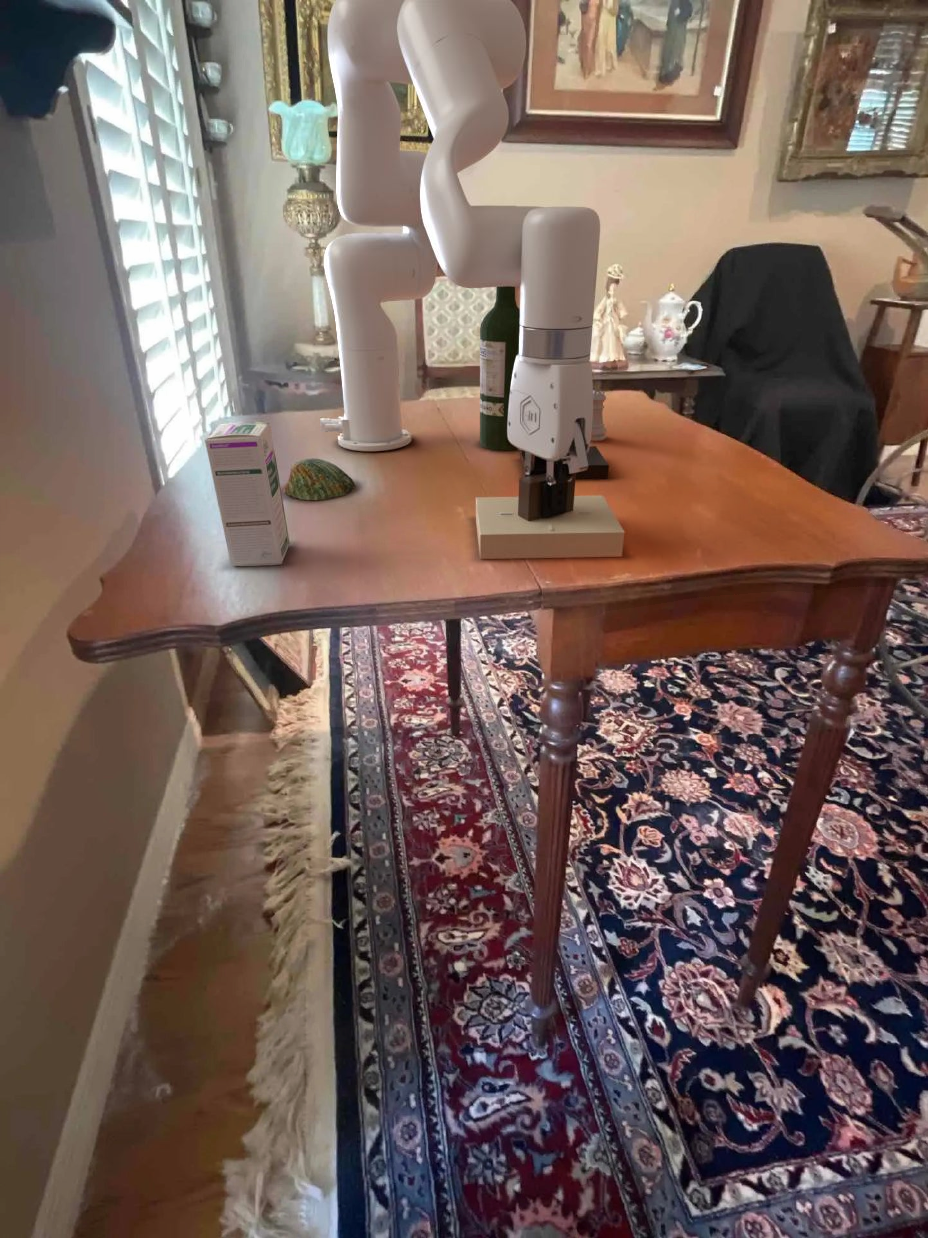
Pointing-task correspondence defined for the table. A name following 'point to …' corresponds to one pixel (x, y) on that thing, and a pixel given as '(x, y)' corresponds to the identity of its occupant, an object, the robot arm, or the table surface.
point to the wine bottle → (498, 368)
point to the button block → (595, 466)
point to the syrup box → (248, 493)
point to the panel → (547, 530)
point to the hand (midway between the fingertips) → (545, 509)
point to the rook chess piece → (598, 417)
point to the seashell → (317, 480)
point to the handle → (538, 496)
